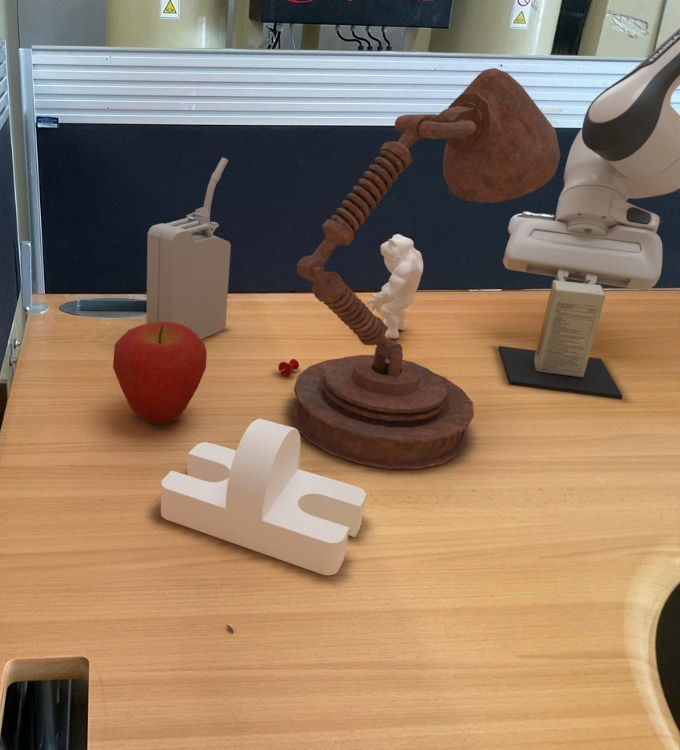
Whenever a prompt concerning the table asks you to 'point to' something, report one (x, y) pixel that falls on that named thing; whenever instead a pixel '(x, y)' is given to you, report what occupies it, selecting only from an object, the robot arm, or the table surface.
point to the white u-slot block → (265, 499)
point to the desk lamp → (386, 368)
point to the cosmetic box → (569, 328)
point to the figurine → (398, 283)
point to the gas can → (189, 270)
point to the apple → (159, 369)
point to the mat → (557, 375)
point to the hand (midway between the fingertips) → (570, 303)
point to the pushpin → (288, 367)
